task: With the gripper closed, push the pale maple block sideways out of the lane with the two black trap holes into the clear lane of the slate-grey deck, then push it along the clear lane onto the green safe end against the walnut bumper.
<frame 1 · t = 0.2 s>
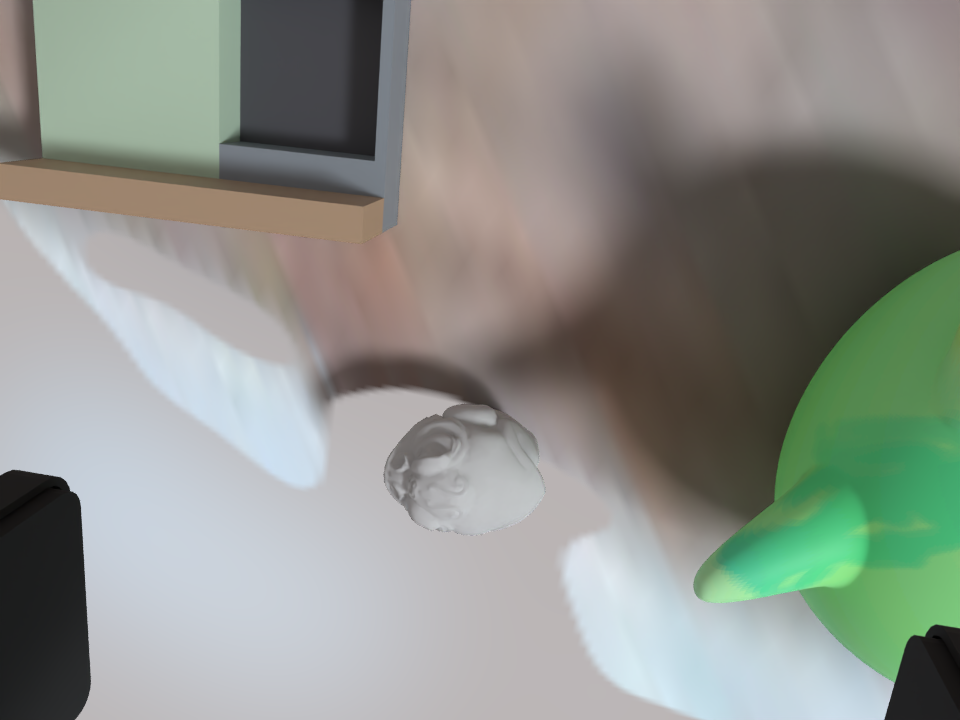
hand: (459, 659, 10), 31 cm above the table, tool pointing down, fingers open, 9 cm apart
green rounded piece: (938, 402, 38), on the table
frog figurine: (484, 438, 43), on the table
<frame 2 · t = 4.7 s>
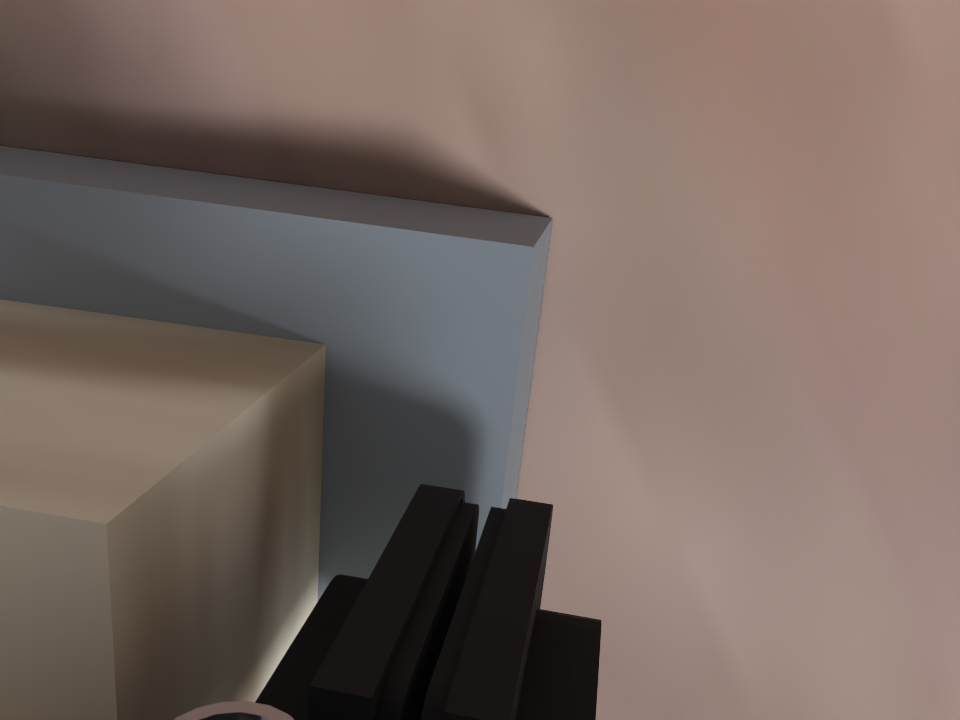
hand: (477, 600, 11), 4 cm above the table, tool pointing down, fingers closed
block: (155, 485, 13), point 3 cm above the table, touching gripper
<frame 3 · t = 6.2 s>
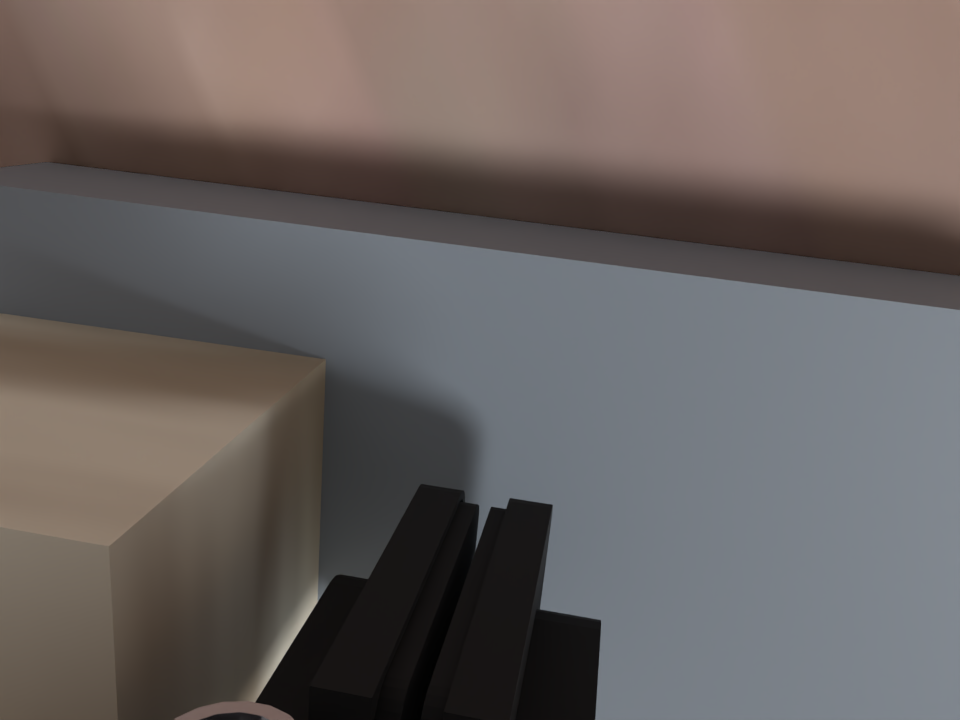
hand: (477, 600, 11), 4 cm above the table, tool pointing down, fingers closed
block: (155, 499, 13), point 3 cm above the table, touching gripper
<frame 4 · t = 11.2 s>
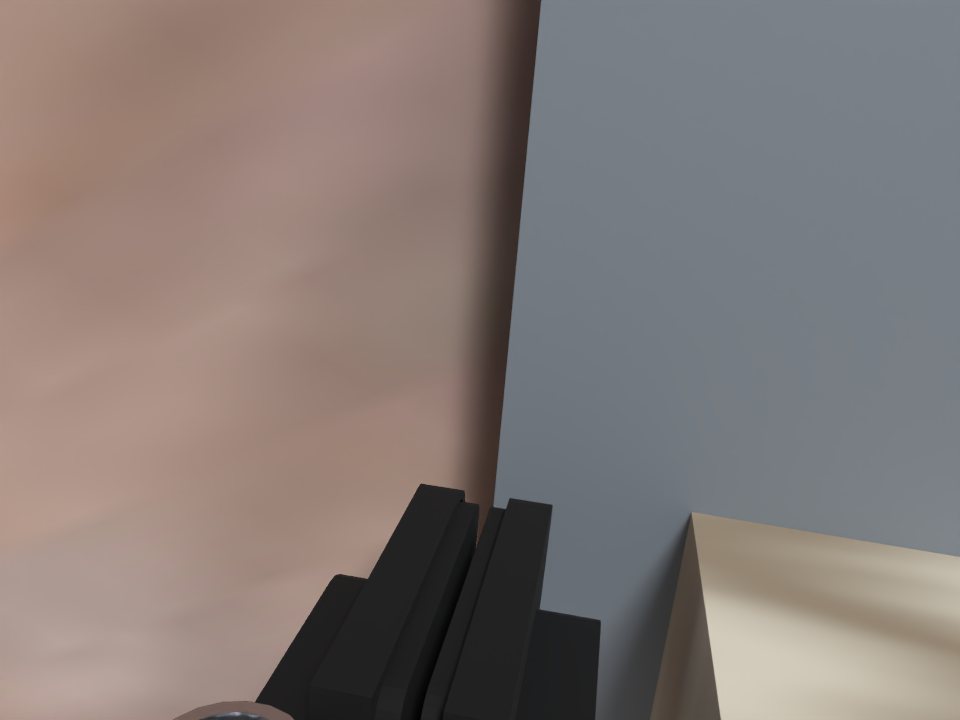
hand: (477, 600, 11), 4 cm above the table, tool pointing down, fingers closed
block: (846, 709, 12), point 3 cm above the table, touching gripper, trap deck
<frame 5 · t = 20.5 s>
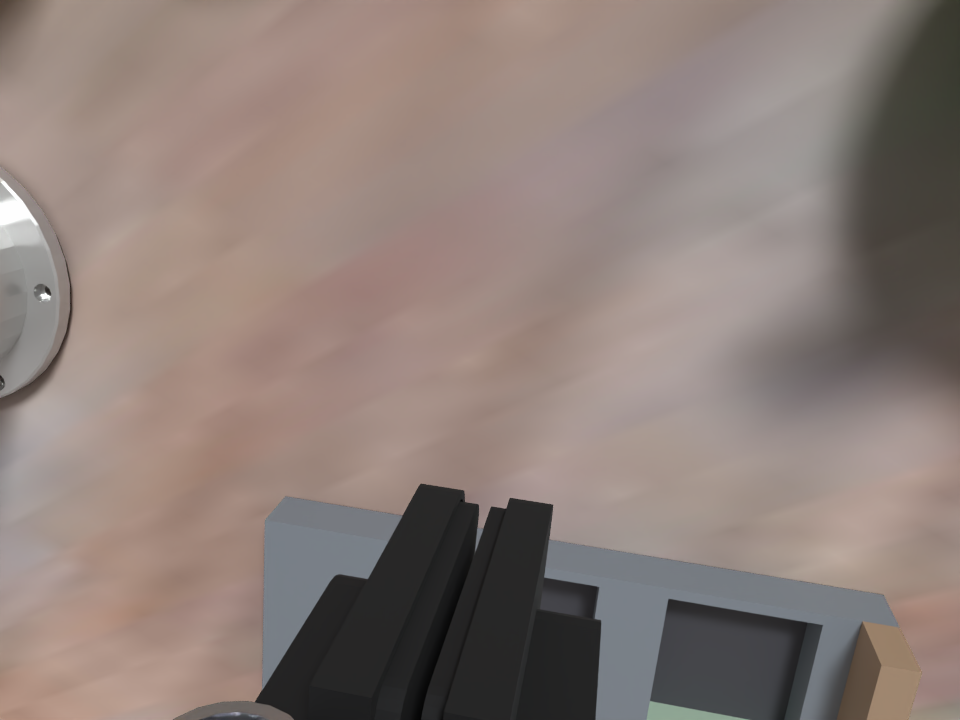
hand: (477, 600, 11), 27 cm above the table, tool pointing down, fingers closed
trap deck: (551, 686, 43), on the table
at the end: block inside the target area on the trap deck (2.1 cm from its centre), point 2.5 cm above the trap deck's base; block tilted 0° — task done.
